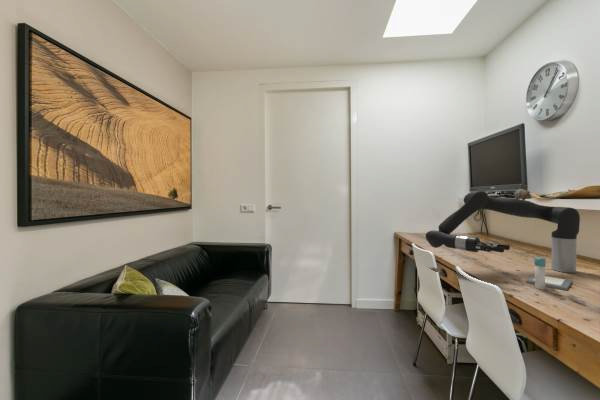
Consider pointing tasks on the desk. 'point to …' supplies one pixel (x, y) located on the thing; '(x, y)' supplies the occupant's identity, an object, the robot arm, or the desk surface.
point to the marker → (539, 272)
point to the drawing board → (552, 282)
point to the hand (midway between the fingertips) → (506, 248)
